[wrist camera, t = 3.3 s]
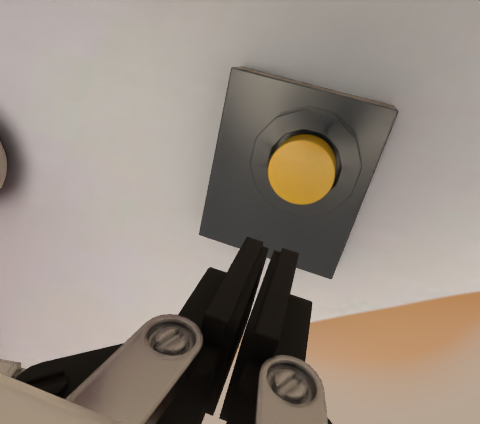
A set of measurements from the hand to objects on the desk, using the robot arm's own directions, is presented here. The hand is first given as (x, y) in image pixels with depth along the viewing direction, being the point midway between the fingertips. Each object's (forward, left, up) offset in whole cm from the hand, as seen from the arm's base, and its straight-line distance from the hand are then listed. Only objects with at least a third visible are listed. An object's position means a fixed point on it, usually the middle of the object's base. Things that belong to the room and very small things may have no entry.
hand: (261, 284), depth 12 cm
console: (+2, 0, -18) cm, 18 cm away
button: (0, 0, -14) cm, 14 cm away
